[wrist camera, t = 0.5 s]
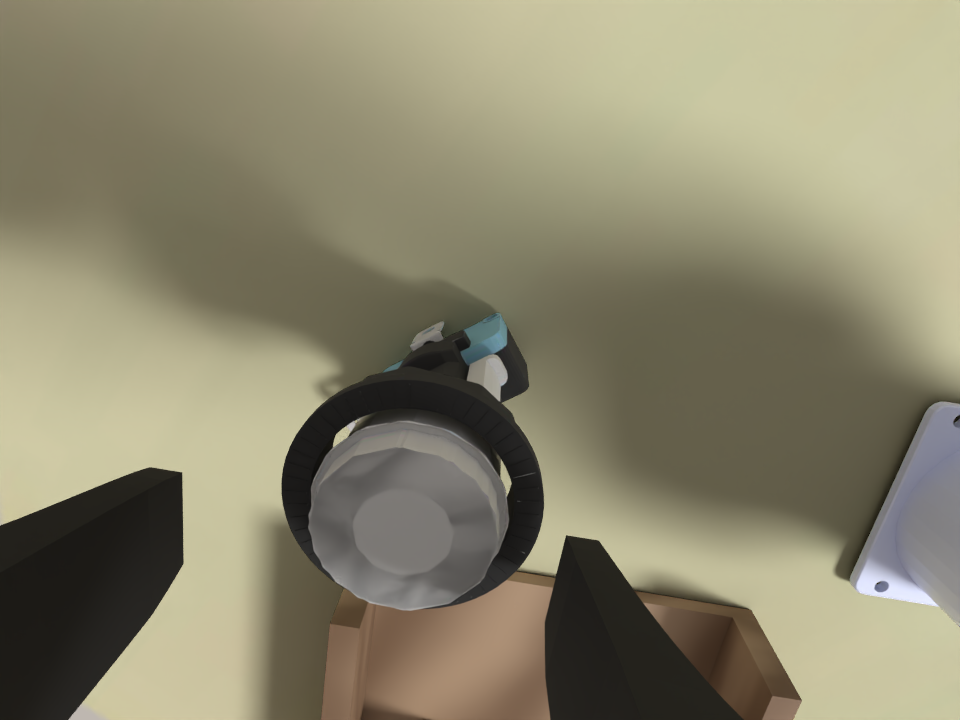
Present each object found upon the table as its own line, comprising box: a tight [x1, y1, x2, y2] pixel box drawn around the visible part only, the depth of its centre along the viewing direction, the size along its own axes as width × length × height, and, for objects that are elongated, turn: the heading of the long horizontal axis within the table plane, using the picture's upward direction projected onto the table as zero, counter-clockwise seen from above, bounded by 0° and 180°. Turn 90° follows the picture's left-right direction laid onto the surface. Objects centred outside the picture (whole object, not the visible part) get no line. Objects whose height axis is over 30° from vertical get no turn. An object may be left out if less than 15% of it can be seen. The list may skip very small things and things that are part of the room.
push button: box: [282, 313, 544, 611], centre depth 15 cm, size 7×5×10 cm
